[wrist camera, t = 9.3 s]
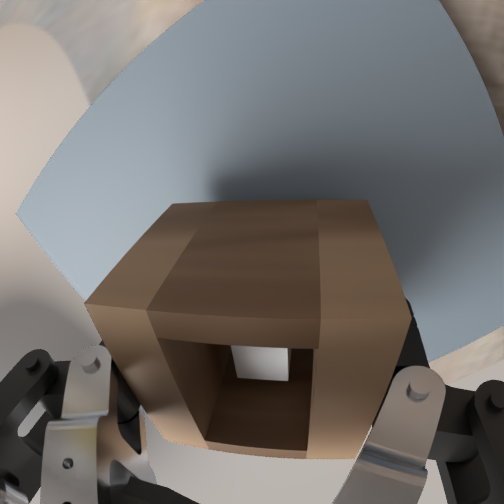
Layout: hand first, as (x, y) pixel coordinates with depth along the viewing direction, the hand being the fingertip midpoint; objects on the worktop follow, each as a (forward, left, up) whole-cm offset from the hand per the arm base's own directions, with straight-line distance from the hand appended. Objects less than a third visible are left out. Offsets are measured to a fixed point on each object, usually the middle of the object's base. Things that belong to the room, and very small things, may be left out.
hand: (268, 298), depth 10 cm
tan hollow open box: (0, 0, -1) cm, 1 cm away
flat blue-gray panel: (0, 0, -4) cm, 4 cm away
